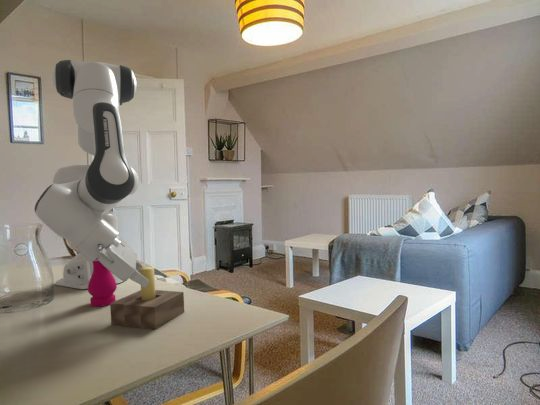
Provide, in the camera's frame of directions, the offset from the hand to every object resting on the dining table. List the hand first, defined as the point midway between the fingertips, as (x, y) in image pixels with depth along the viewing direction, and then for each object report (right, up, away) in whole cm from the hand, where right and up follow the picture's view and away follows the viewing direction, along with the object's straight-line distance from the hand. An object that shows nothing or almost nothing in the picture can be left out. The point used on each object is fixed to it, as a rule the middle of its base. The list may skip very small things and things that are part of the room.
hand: (146, 279), depth 93 cm
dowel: (0, -9, 0) cm, 9 cm away
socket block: (0, -9, 0) cm, 9 cm away
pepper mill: (-16, -9, +13) cm, 23 cm away
